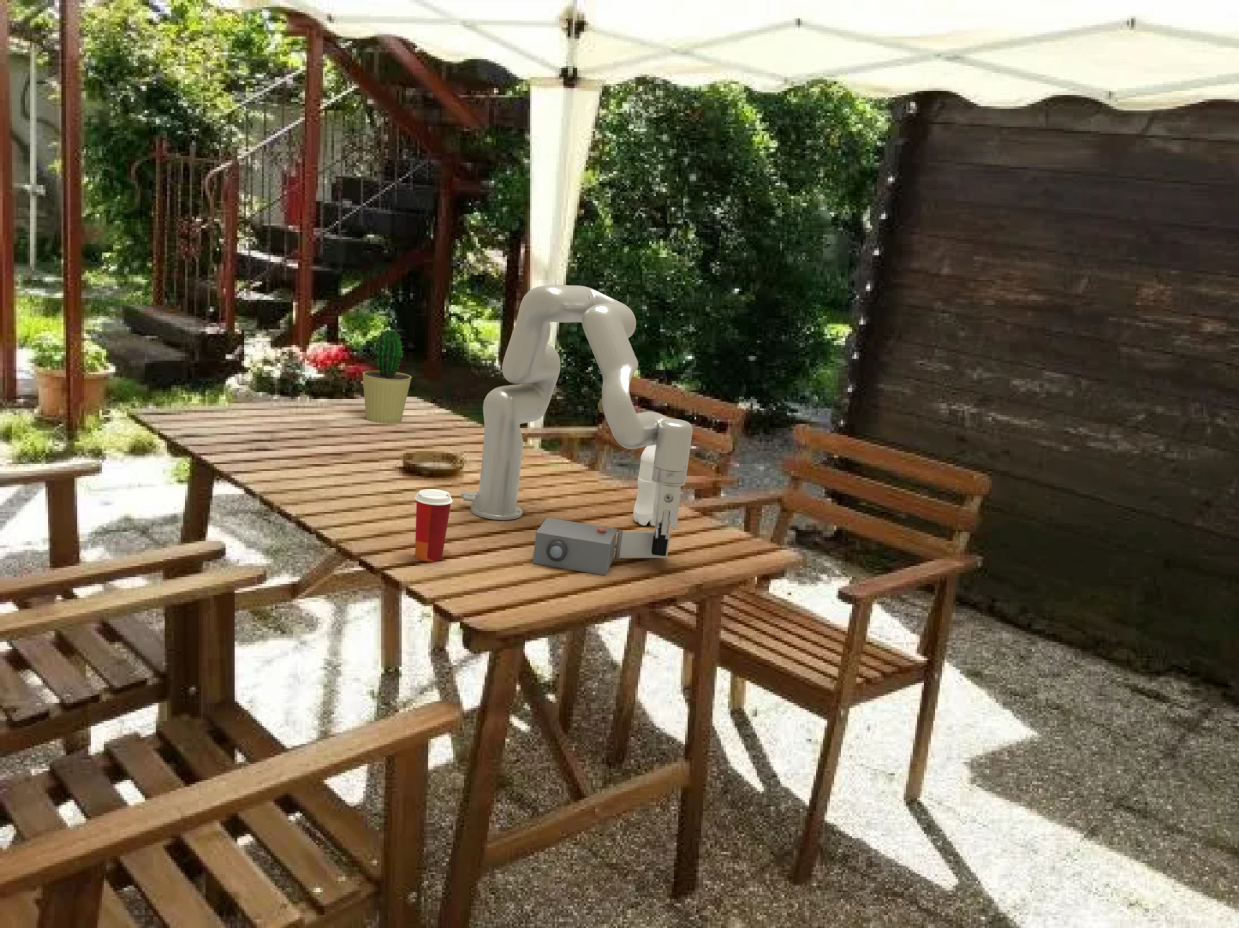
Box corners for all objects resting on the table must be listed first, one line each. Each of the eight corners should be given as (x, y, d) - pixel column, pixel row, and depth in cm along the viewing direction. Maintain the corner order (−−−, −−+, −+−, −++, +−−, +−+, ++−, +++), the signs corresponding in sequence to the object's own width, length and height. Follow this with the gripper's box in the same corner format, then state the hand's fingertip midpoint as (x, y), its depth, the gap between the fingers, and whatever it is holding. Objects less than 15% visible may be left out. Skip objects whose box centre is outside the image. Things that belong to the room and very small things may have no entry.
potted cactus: (417, 422, 349) (425, 331, 342) (384, 426, 336) (391, 332, 330) (383, 412, 357) (390, 323, 350) (349, 416, 344) (355, 324, 337)
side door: (667, 559, 243) (670, 532, 241) (615, 558, 238) (619, 531, 237) (663, 556, 245) (667, 529, 243) (612, 555, 240) (616, 528, 239)
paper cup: (449, 553, 228) (455, 490, 225) (444, 565, 221) (450, 500, 218) (412, 549, 228) (418, 486, 225) (406, 561, 220) (412, 496, 217)
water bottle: (643, 517, 275) (656, 422, 269) (665, 525, 270) (679, 429, 265) (626, 521, 269) (639, 424, 263) (648, 529, 265) (662, 431, 259)
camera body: (531, 565, 228) (535, 530, 226) (543, 547, 241) (547, 514, 239) (604, 577, 226) (609, 542, 224) (613, 558, 239) (617, 525, 237)
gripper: (689, 485, 228) (677, 567, 232) (682, 469, 242) (672, 545, 246) (654, 482, 227) (643, 563, 231) (650, 465, 242) (640, 542, 246)
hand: (658, 554), depth 239 cm, fingers closed
